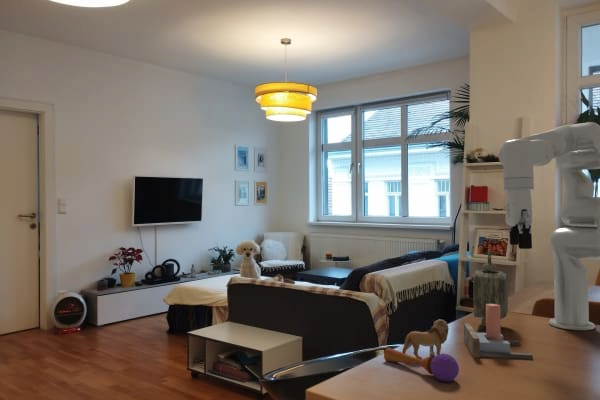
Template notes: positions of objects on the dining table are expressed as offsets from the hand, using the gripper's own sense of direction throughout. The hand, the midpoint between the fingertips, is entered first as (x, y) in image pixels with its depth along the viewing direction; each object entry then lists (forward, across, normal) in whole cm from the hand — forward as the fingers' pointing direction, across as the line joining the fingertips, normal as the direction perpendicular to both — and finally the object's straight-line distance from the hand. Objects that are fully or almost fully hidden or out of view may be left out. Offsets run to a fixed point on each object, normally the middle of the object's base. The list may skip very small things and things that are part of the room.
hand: (520, 246), depth 130 cm
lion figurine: (+27, +14, -27) cm, 41 cm away
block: (+27, +5, -10) cm, 29 cm away
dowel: (+27, +5, -9) cm, 29 cm away
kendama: (+26, +26, -29) cm, 47 cm away
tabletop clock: (+28, -19, -5) cm, 35 cm away
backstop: (+27, +5, -8) cm, 29 cm away
